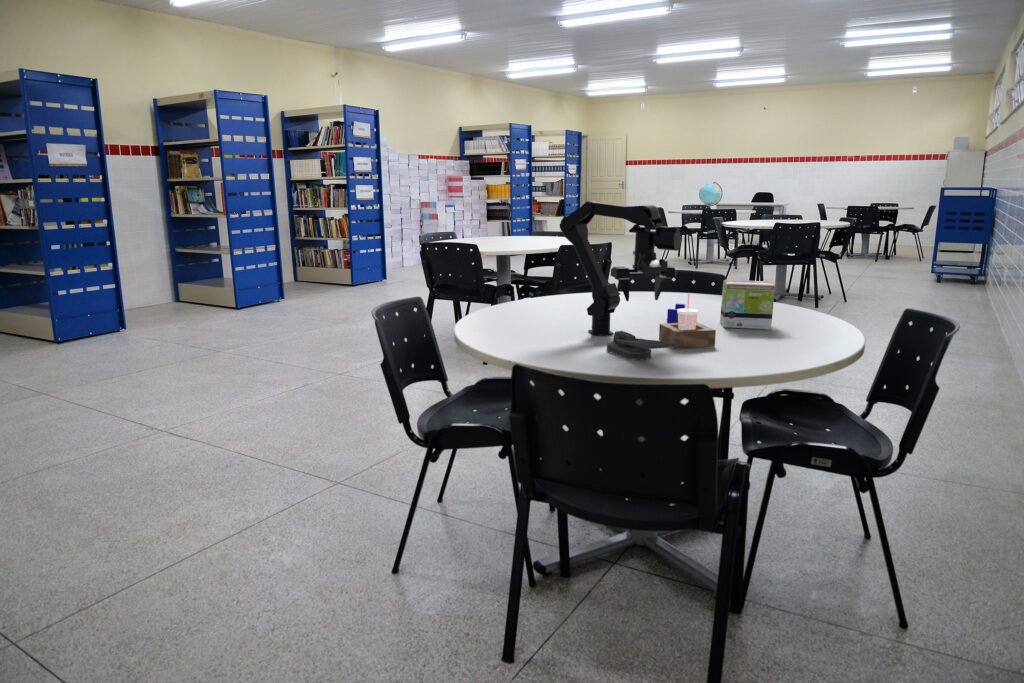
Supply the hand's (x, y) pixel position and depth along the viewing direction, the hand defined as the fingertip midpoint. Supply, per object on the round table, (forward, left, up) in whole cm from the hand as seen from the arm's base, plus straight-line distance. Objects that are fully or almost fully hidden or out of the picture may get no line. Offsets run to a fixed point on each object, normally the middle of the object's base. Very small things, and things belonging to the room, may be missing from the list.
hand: (641, 300), depth 203 cm
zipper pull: (+21, -9, -12) cm, 26 cm away
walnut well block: (+9, +11, -12) cm, 18 cm away
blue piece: (-20, +20, -12) cm, 31 cm away
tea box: (-10, +41, -12) cm, 44 cm away
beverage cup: (+9, +11, -11) cm, 18 cm away
